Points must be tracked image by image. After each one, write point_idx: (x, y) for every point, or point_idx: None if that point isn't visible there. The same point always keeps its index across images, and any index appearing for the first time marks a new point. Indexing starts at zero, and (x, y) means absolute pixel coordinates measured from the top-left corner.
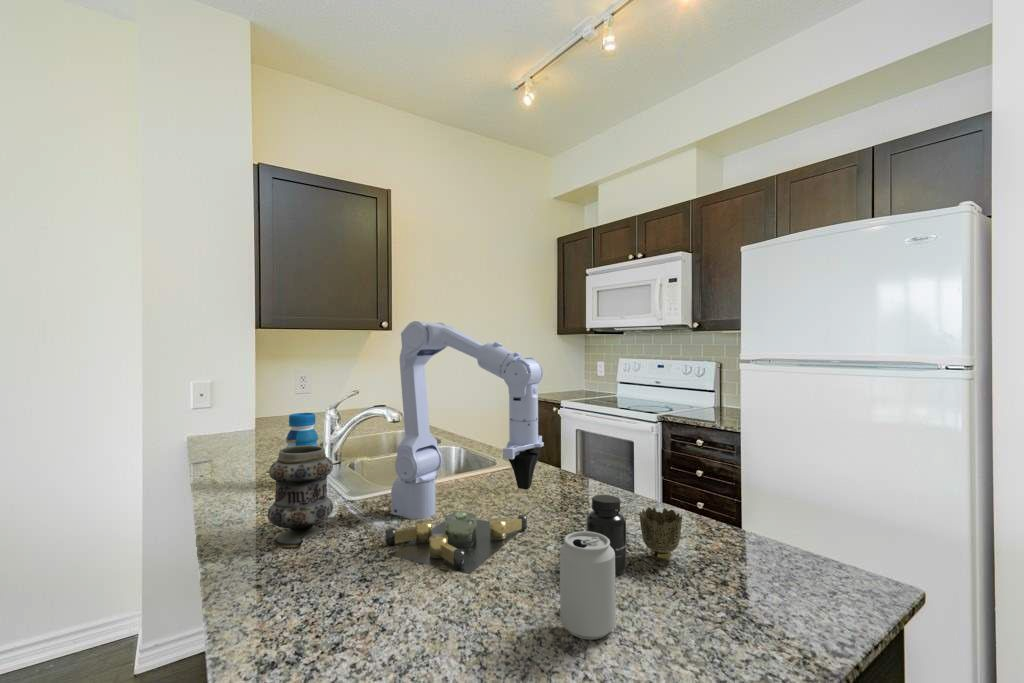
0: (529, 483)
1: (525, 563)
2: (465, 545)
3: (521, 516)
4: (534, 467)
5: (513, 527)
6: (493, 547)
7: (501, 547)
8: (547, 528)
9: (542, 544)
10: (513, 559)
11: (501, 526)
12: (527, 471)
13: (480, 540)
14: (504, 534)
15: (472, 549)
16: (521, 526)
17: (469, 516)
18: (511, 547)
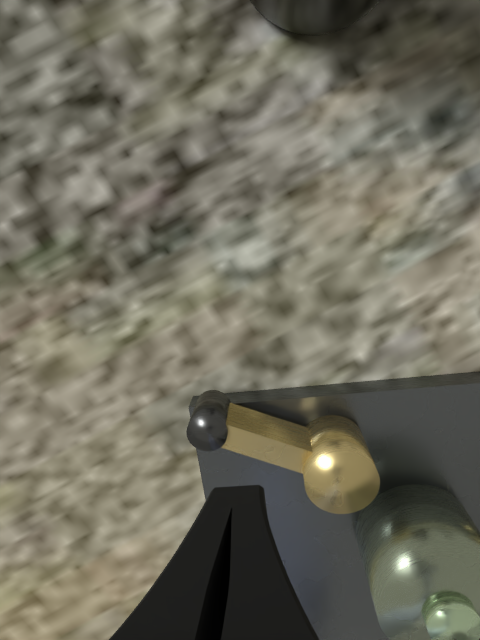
0: (243, 508)
1: (426, 267)
2: (451, 496)
3: (211, 435)
4: (138, 620)
5: (272, 424)
6: (415, 412)
7: (399, 389)
8: (98, 348)
9: (243, 293)
10: (414, 321)
11: (362, 449)
12: (307, 619)
13: (381, 478)
14: (338, 423)
15: (463, 462)
16: (229, 408)
17: (421, 589)
18: (326, 376)
